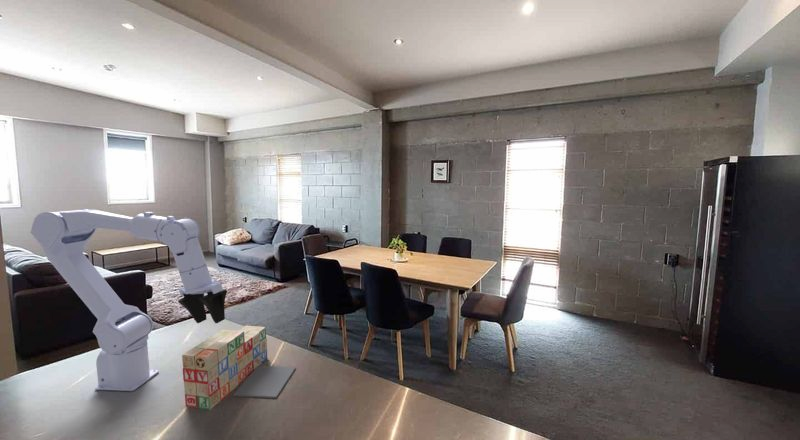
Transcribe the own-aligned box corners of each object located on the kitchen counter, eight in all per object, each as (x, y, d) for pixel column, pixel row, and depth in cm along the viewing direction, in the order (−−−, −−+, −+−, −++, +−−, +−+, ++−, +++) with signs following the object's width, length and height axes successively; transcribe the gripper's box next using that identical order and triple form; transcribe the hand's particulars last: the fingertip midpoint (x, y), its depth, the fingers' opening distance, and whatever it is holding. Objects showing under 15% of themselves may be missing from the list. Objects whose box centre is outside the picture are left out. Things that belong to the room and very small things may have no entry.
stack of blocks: (247, 356, 92) (245, 314, 90) (267, 358, 90) (266, 316, 89) (184, 407, 71) (181, 353, 69) (210, 411, 70) (206, 356, 68)
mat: (233, 396, 74) (233, 394, 74) (258, 366, 86) (258, 365, 86) (276, 398, 74) (276, 396, 74) (295, 368, 86) (295, 366, 86)
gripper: (226, 260, 77) (243, 313, 79) (192, 265, 84) (209, 313, 86) (197, 270, 71) (216, 327, 73) (163, 275, 78) (181, 327, 80)
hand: (210, 321), depth 79 cm, fingers open, 7 cm apart
